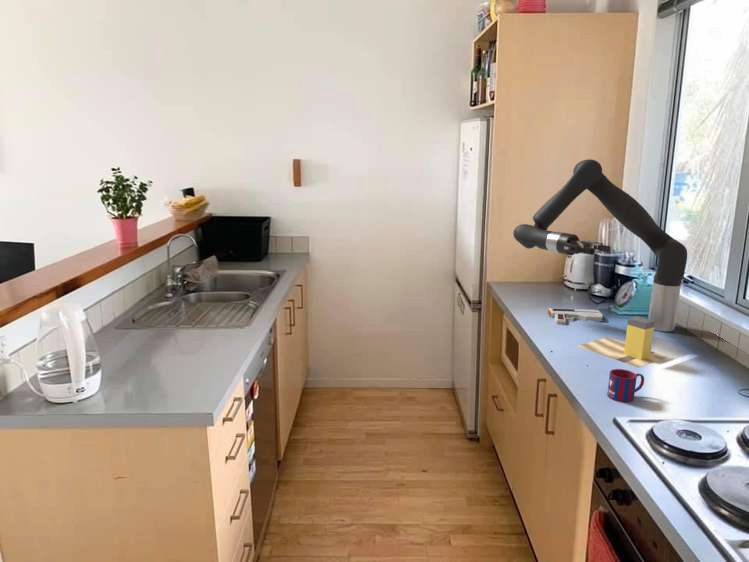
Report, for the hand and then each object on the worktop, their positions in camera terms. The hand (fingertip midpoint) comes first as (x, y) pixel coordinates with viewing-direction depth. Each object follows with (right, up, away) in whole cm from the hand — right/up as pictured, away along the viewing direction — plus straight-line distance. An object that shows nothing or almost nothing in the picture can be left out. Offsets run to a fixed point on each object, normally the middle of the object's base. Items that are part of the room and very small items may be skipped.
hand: (602, 250), depth 196 cm
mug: (-7, -42, -36) cm, 56 cm away
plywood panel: (+5, -34, -4) cm, 35 cm away
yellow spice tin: (+8, -34, -8) cm, 36 cm away
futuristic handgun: (+3, -26, +33) cm, 42 cm away
